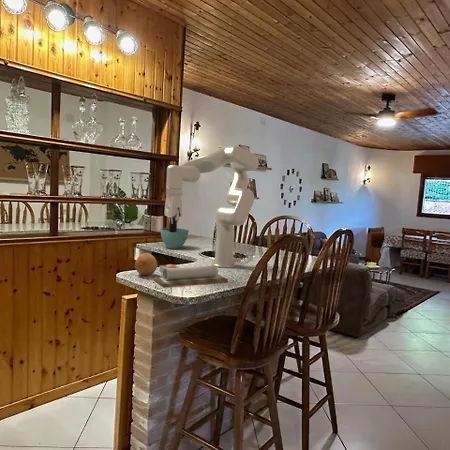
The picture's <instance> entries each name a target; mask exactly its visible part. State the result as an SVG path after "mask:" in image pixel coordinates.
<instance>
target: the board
mask: <svg viewBox="0 0 450 450" xmlns="http://www.w3.org/2000/svg"><path fill="white" fill-rule="evenodd" d="M153 281H154V282H155V283H156V284H158V285H159V286H161V287H162V288H168V287H181V286H182V287H183V286H193V285H204V284H215V283H216V284H217V283H227V282H228V281H229V279H228V278H227V277H225V276H223V275H220V274H219V273H218V274H217V276H215V277H205V278H191V279H176V280H167V281H165V280H163V276H161V277H158V276H157V277H153Z"/></svg>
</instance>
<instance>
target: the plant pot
mask: <svg viewBox="0 0 450 450" xmlns="http://www.w3.org/2000/svg"><path fill="white" fill-rule="evenodd" d="M160 235H161V240H162V242H163V244H164V246H166V248H167V249H169V248H172V249H171V250H179V248H180V249H181V248H183V245H185V243H186V241H187V239H188V236H189V229H186V228H179V227H177V232H169V227H165V228H161V229H160Z"/></svg>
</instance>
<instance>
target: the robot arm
mask: <svg viewBox="0 0 450 450" xmlns="http://www.w3.org/2000/svg"><path fill="white" fill-rule="evenodd" d="M227 164H230V168H231V170H232V174H233V179H232V182H231V184H230V186H229V188H228V190H227V193H226V196H225V201H226V204H228V205H221V206H219V207H218V208H217V210H215V211H216V212H215V223H216V232H215V233H216V236H215V252H214V261H212V262H211V266H215V267H216V268H222V269H225V268H226V269H228V268H230V269H231V268H235V267H236V262H237V263H239V262H240V263H241V258H240V257H234V248H235V247H234V246H235V228H234V226H235V227H240V226H242V225H244V224H245V223H246V221H247V219H248V217H249V214H250V211H251V210H252V207H253V205H254V201H255V194H254V192H253V191H252V190H251V189H250V188H248V186H249V183H250V182H249V180H250V179H249V176H248V173H247V172H253V171H255V170H257V169H258V167H259V164H260V162H259V158H258V156H257V155H256V154H254V153H253V152H251V151H249V150H247V149H245V148H244V147H242V146H241V145H225V146H222V147H220V148H218V149H216V150H214V151H212V152H210V153H207V154H206V155H203V156H199V157H198V158H195V159H191V160H190V161H187V162H185V163H183V164H181V165H176V164H174V165H173V164H171V165H168V166H167V168H166V185H165V186H166V189H165V190H166V191H165V193H166V194H165V195H166V198H165V203H164V216H166V217H167V219H168V224H169V225H168V228H169V232H177V228H178V221H180V218H181V217H182V215H183V203H182V202H183V200H182V197H183V192H184V189H183V188H184V183H196V182H198V181H199V180H200V178H201V176H202V175H201V174H205V173H206V174H207V173H211V172H212V173H213V172H215V171H216V170H218V169H219V168H222V167H224V166H226V165H227Z"/></svg>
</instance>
